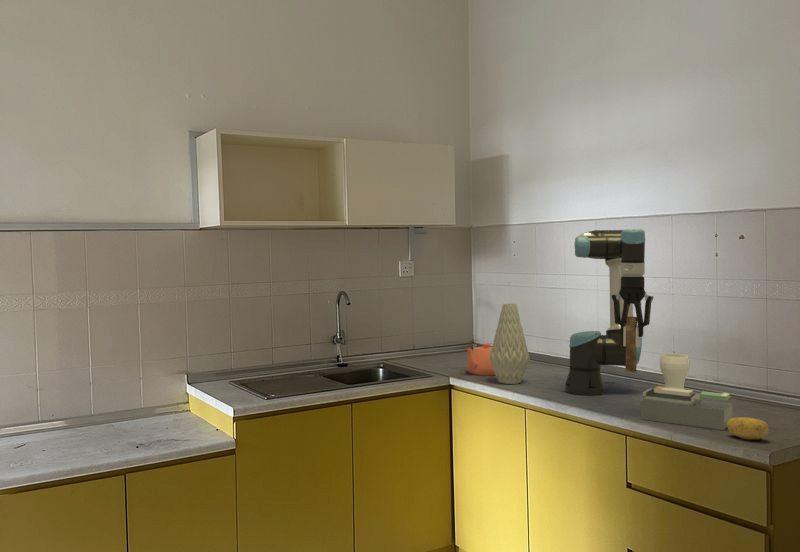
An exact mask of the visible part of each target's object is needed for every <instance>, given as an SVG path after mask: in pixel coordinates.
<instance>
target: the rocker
mask: <svg viewBox="0 0 800 552" xmlns="http://www.w3.org/2000/svg"><path fill="white" fill-rule="evenodd" d="M654 393H663V394H672V395H681V396H691V395H692V394H693V393H694V390H691V389H685V388H684V389H675V388H665V386H661V385H658V386H655V387H654Z"/></svg>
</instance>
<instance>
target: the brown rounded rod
mask: <svg viewBox="0 0 800 552" xmlns="http://www.w3.org/2000/svg"><path fill="white" fill-rule="evenodd" d="M636 327H638V322H637V316H633V317H626V367H625V372H629V373H631V372H632V373H637V365H636V363H637V347H636Z"/></svg>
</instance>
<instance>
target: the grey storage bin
mask: <svg viewBox="0 0 800 552" xmlns="http://www.w3.org/2000/svg"><path fill="white" fill-rule="evenodd" d="M654 388H655V387H654ZM654 388H653V387H650V388H648V389H646V390H644V391H642V400H640V420H643V421H649V422H650V421H652V422H656V423H657V422H659V423H665V424H671V425H672V424H673V425H680V426H689V427H696V428H702V429H704V428H705V429H710V430H717V431H718V430H719V431H725V430H726V429H728V428H727V423H728V421H729V420H730V419H732V418H733V403H732V402H726V401H724V402H722V401H717V400H708V399H707V400H705V399H702V398H699V394H700V393H701V392H693V394H692V395H691V396H681V395H672V394H663V393H654Z"/></svg>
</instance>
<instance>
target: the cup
mask: <svg viewBox="0 0 800 552" xmlns="http://www.w3.org/2000/svg"><path fill="white" fill-rule="evenodd" d="M690 364H691V363H690V359H689V355H687V354H682V353H681V354H680V353H662V354H661V355H660V359H659V369H660V371H661V375H662V376H663V379H664V387H665V388H675V389H684V390H685V382H686V381H685V380H686V377H687V376H688V375H689V371H690V369H691V368H690V367H691V366H690Z"/></svg>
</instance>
